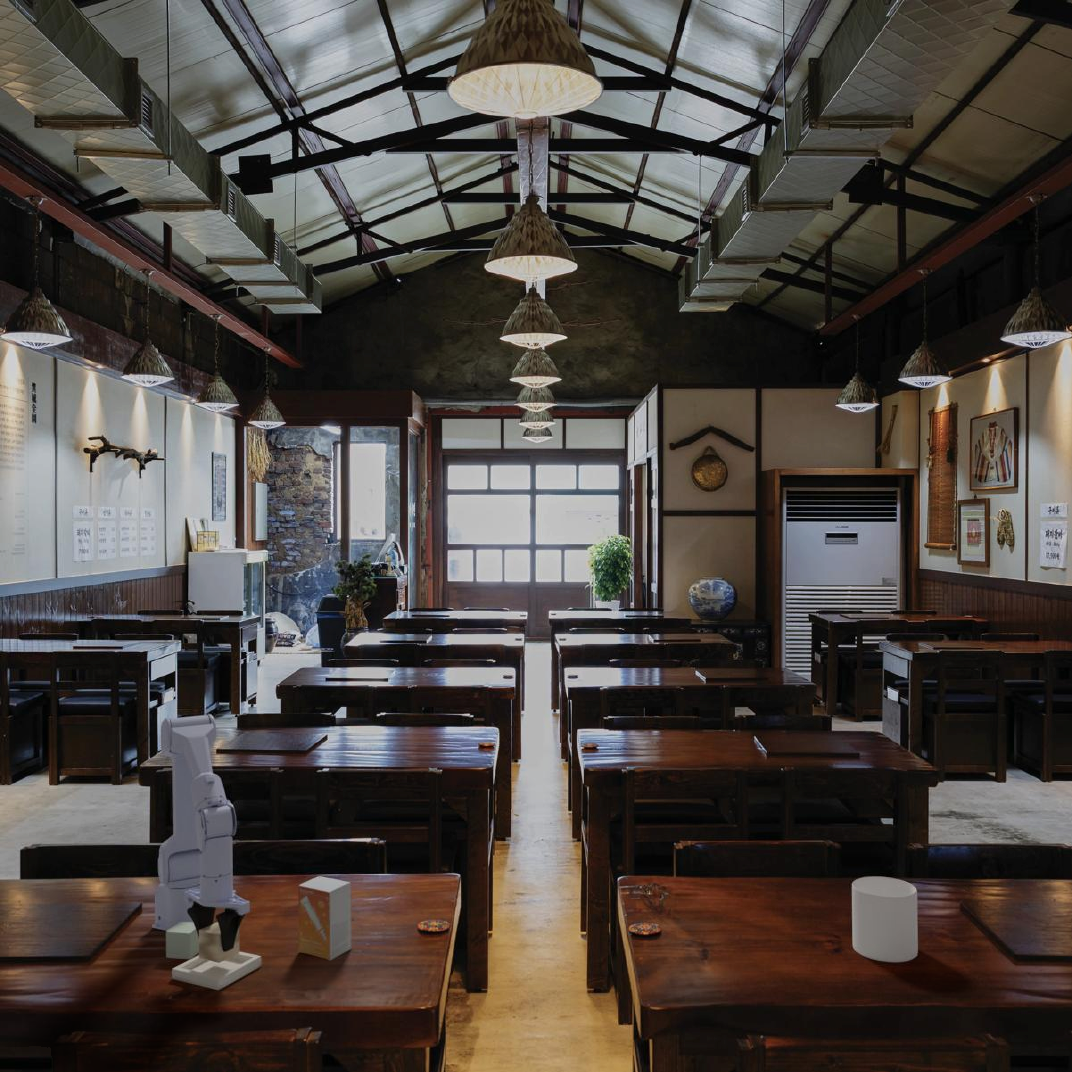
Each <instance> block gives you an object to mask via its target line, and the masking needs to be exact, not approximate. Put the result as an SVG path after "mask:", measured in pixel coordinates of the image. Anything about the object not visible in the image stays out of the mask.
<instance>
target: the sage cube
mask: <svg viewBox="0 0 1072 1072" xmlns="http://www.w3.org/2000/svg"><path fill="white" fill-rule="evenodd" d="M197 954H198V955H199V937H198V934H197V931H196V928H195V925H194V923H193V922H179V923H177V924H176V925H175V926H173V927H172V928H170V929H169V930H167V931H165V958H169V959H180V960H181V959H182V960H190V959H192V958H194V957H196V955H197Z"/></svg>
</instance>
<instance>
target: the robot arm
mask: <svg viewBox="0 0 1072 1072" xmlns="http://www.w3.org/2000/svg"><path fill="white" fill-rule="evenodd" d="M160 726H161V727H160V750H161V752H162V753H161V754H162V755H163V756H164V757H169V758H170V761H171V766H172V767H171V768H172V769H171V770H172V825H173V826H172V833H173V834H172V835H171V836H170V837H169V838H168V839H166V840H165V841H164V842H163V843H162V844H161V845H160V846H159V849H158V858H157V873H158V879H159V882H160V883H159V884H158V886H157V888H156V891H155V895H154V924H152V925H151V928H152V929H156V930H162V931H164V932H166V931H167V930H169V929H170V928H172V927H173V926H175V925H176V924H177V923H179V922H193V923H194V925H195V928H196V931H197V934H198V937H199V930H201V929H203V928H205V927H207V926H210V925H212V924H214V920H215V919H216V921H217V922H218V924H219V928H220V932H221V944H222V949H223V951H224V952H227V951H229V950H231V949H233V948H234V943H235V939H236V935H237V932H238V929H239V930H240V926H241V923H242V921H243V919H244V918H245V915H246V914H248V913H250V912H251V911H250V910H251V908H250V907H251V905H250V904H251V903H250V902H251V901H249V900H246V899H244V898H242V897H240V896H239V895H237V891H236V890H235V889H234V887H233V885H234V882H233V881H234V879H233V873H234V871H233V868H234V867H233V836H235V835H236V832H237V814H236V809H235V807H234V804H232V803H231V800H229V799H227V797H226V792H225V789H224V786H223V782H222V778H221V777H220V776H219V775H218V774H215V773H214V770H213V764H212V758H211V752H210V751H211V750H210V749H212V748H214V743H215V742H216V740H217V723H216V719H215V717H214V716H213V715H212V714H210V713H207V714H203V715H193V716H192V715H191V716H184V717H174V718H172V717H171V718H168V717H167V718H164V719H163V721H162V722H161V725H160ZM217 909H220V910H224V912H221V913H218V914H216V915H215V913H216V910H217ZM214 918H215V919H214ZM217 922H216V923H217Z"/></svg>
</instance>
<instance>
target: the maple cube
mask: <svg viewBox="0 0 1072 1072" xmlns="http://www.w3.org/2000/svg"><path fill="white" fill-rule="evenodd" d="M239 951H240V928H239V929H238V932H237V935H236V939H235V943H234V948H233V949H231V950H229V951H227V952H224V951H223V949H222V944H221V932H220V928H219V924H218V922H213V924H212V925H210V926H207V927H205V928H203V929H201V930H199V953H198V955H199V958H202V959H206V960H210V961H213V962H217V963H220V962H222V961H224V960H226V959H228V958H230V957H232V956H234V955H236V954H238V953H239Z"/></svg>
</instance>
